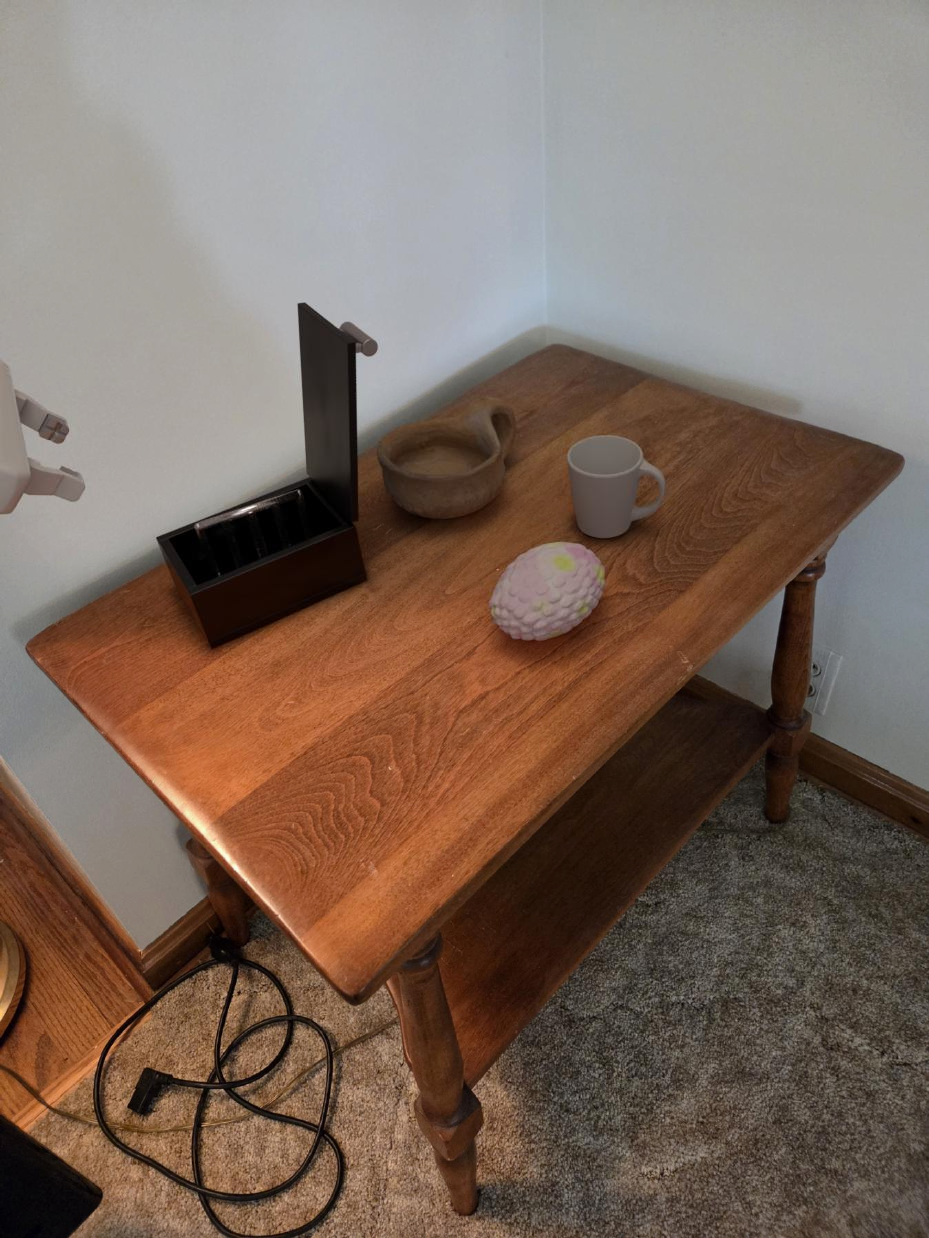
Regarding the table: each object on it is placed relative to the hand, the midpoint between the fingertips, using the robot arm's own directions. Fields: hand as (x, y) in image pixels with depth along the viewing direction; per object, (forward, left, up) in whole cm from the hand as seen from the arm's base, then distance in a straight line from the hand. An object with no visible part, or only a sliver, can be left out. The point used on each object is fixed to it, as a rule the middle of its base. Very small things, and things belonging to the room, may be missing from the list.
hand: (72, 459), depth 70 cm
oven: (+13, +6, -24) cm, 27 cm away
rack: (+13, +6, -23) cm, 27 cm away
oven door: (+23, +6, -7) cm, 24 cm away
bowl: (+37, +8, -24) cm, 45 cm away
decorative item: (+33, -16, -24) cm, 44 cm away
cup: (+47, -8, -24) cm, 53 cm away
